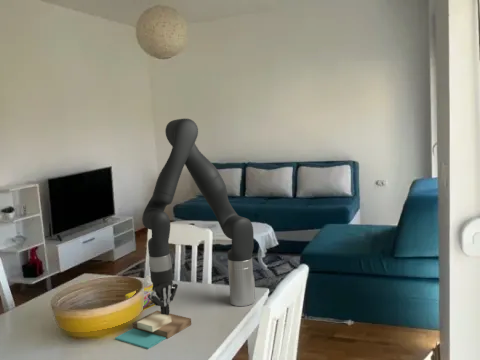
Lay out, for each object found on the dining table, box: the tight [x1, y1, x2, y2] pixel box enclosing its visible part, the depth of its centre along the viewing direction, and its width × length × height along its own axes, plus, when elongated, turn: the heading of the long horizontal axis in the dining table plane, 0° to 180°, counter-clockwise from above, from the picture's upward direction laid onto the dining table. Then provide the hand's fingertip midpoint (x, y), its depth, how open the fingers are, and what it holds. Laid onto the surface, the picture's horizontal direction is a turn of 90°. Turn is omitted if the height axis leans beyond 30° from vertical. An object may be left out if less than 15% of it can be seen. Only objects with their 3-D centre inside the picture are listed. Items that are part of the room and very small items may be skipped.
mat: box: [114, 327, 167, 350], centre depth 157 cm, size 8×15×1 cm, turn 56°
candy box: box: [124, 284, 156, 311], centre depth 182 cm, size 16×2×8 cm, turn 143°
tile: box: [137, 313, 172, 332], centre depth 162 cm, size 9×7×2 cm
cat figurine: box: [142, 275, 153, 287], centre depth 195 cm, size 9×11×12 cm
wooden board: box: [132, 310, 192, 340], centre depth 165 cm, size 12×16×2 cm
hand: (165, 315), depth 167 cm, fingers closed
